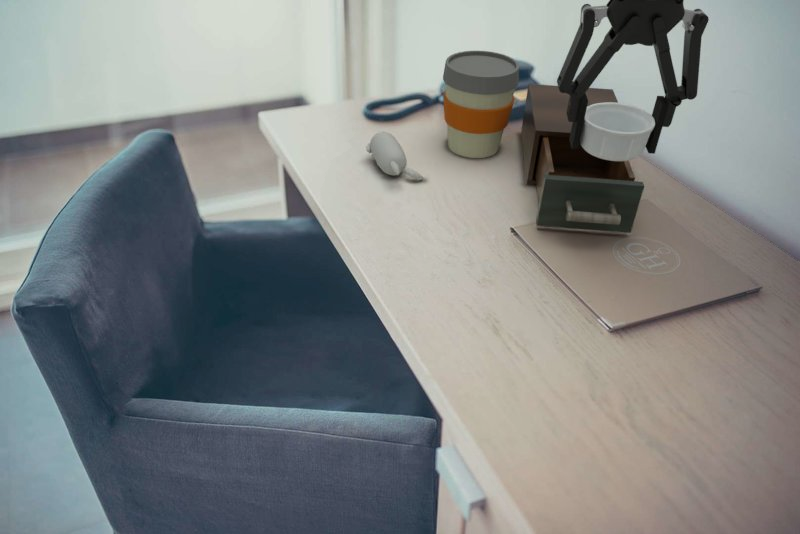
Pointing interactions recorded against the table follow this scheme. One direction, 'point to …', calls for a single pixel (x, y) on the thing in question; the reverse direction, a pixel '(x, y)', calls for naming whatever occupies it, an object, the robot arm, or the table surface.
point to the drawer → (584, 188)
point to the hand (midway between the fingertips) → (611, 146)
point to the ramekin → (616, 131)
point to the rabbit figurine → (390, 155)
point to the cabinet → (550, 118)
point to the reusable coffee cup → (478, 100)
